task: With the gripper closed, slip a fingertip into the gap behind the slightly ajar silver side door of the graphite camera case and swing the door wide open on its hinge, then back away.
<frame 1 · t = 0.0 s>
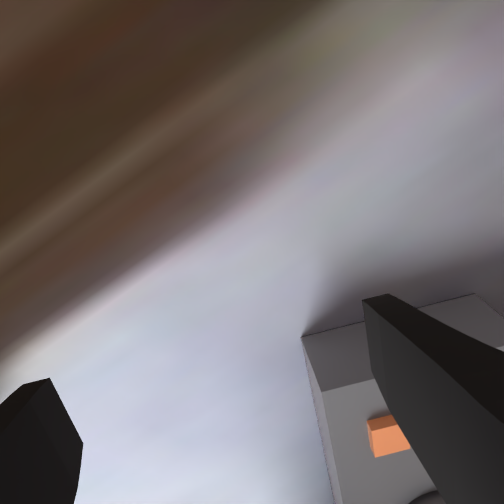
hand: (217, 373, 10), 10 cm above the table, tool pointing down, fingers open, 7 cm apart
camera case: (399, 418, 25), on the table
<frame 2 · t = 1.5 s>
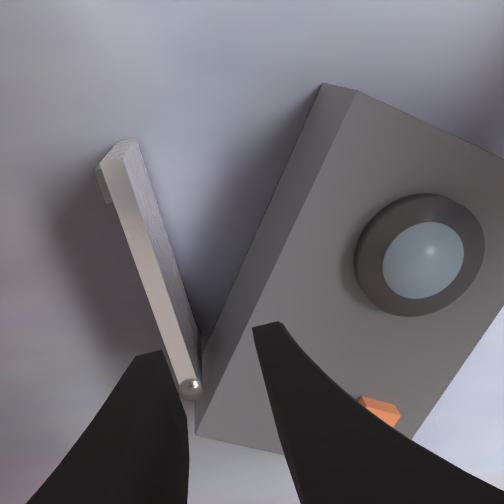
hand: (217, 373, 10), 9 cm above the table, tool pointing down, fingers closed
camera case: (342, 275, 20), on the table
side door: (154, 273, 17), point 2 cm above the table, hinge at 35.0°
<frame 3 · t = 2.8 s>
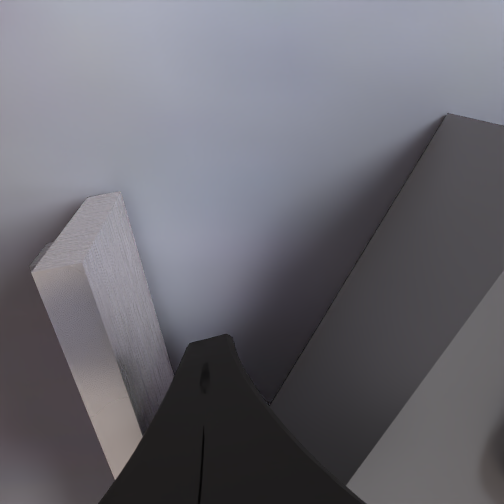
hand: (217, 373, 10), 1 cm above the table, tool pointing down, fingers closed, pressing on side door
camera case: (430, 403, 13), on the table
side door: (140, 427, 10), point 2 cm above the table, hinge at 35.0°, touching gripper
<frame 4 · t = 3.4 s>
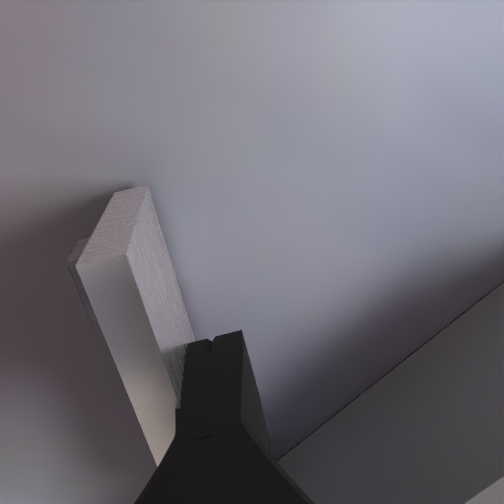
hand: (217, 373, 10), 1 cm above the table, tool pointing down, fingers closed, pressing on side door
camera case: (454, 458, 14), on the table
side door: (177, 421, 10), point 2 cm above the table, hinge at 58.1°, touching gripper
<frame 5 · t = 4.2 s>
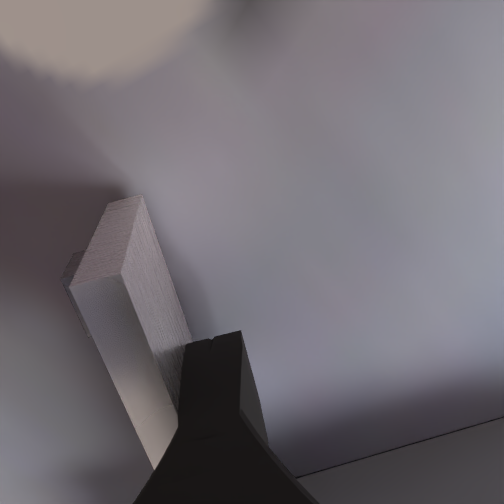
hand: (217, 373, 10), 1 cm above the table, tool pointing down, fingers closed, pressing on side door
side door: (179, 431, 10), point 2 cm above the table, hinge at 89.3°, touching gripper
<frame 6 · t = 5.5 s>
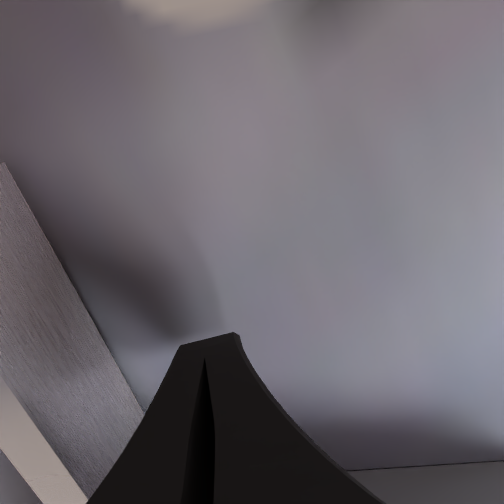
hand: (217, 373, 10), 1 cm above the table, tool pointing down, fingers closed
side door: (64, 409, 9), point 2 cm above the table, hinge at 110.2°
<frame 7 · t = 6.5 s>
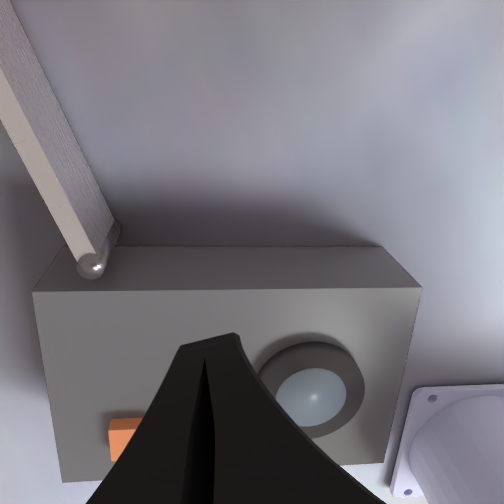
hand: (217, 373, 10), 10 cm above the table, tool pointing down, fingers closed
camera case: (226, 333, 22), on the table
side door: (38, 137, 15), point 2 cm above the table, hinge at 110.4°
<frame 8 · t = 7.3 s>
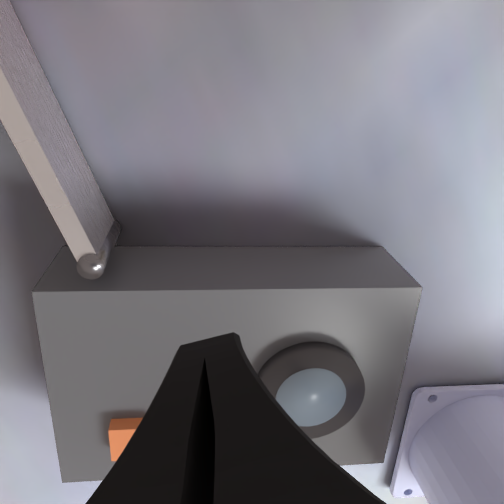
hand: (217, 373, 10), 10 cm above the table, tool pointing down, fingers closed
camera case: (226, 333, 22), on the table
side door: (38, 137, 15), point 2 cm above the table, hinge at 110.4°
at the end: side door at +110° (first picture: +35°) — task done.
